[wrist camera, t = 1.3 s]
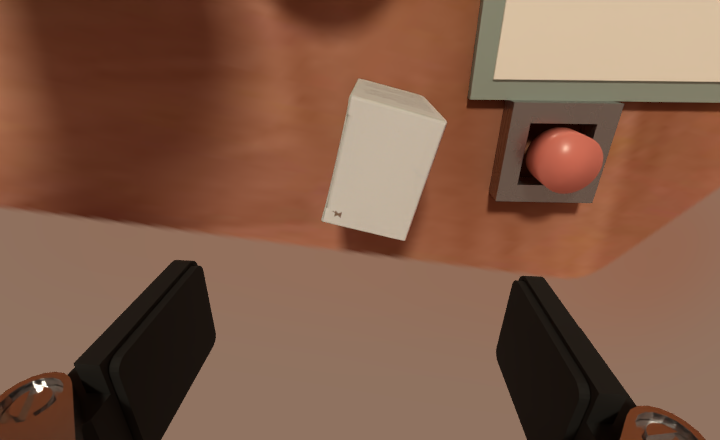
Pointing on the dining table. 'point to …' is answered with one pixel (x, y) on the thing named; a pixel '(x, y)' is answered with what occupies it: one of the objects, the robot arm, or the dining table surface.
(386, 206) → the small box
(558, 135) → the red rounded knob
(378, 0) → the dining table surface
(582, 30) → the board
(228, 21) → the dining table surface
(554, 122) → the button housing
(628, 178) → the dining table surface
